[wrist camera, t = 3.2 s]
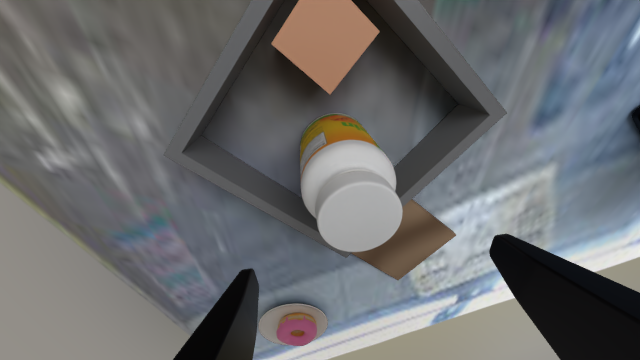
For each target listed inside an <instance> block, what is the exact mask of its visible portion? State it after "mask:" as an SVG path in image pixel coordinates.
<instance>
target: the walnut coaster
mask: <svg viewBox="0 0 640 360" xmlns="http://www.w3.org/2000/svg"><path fill="white" fill-rule="evenodd" d="M402 211H403V212H402V220H401V223H400V226H399V228H398V229H397V231H396V232H395V233H394V235H393V236H392V237H391V238H390V239H389V240H387V241H386V242H385V243H383V244H382V245H380V246H378V247H376V248H373V249H370V250H367V251H362V252H352V254H353V255H355V256H357V257H359V258H360V259H362V260H364V261H365V262H367V263H369V264H371V265H372V266H374V267H376V268H378V269H379V270H381V271H383V272H385V273H386V274H388V275H390V276H392V277H393V278H395V279H397V280H399V279H400V278H402V277H403V276H404V275H406V274H407V273H408V272H409V271H411V270H412V269H413V268H415V267H416V266H417V265H419V264H420V263H421V262H422V261H424V260H425V259H426V258H428V257H429V256H430V255H431V254H433V253H434V252H435V251H437V250H438V249H439V248H440V247H442V246H443V245H444V244H446V243H447V242H448V241H449V240H451V239H452V238H453V237H455V236H456V234H455V233H454V232H453V231H452V230H451V229H449V228H448V227H447V226H446V225H444V224H443V223H442V222H441V221H439V220H438V219H437V218H435V217H434V216H433V215H432V214H430V213H429V212H428V211H426V210H425V209H424V208H423V207H421V206H420V205H419V204H418V203H416V202H415V201H414V200H412V199H411V200H410V201H409V202H408V203H407V204H406V205H404V206H403V207H402Z"/></svg>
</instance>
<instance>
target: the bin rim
mask: <svg viewBox="0 0 640 360" xmlns="http://www.w3.org/2000/svg"><path fill="white" fill-rule="evenodd" d="M283 1H284V0H252V1H251V2H250V4H249V6H248V8H247V9H246V11H245V13H244V15H243V16H242V18H241V20H240V22H239V23H238V25H237V27H236V29H235V30H234V32H233V34H232V36H231V37H230V39H229V41H228V43H227V44H226V46H225V48H224V50H223V51H222V53H221V55H220V57H219V58H218V60H217V62H216V64H215V65H214V67H213V69H212V71H211V72H210V74H209V76H208V78H207V79H206V81H205V83H204V85H203V86H202V88H201V90H200V92H199V93H198V95H197V97H196V99H195V100H194V102H193V104H192V106H191V107H190V109H189V111H188V113H187V114H186V116H185V118H184V120H183V121H182V123H181V125H180V127H179V128H178V130H177V132H176V134H175V135H174V137H173V139H172V141H171V142H170V144H169V146H168V148H167V149H166V151H165V153H164V156H165V157H167V158H169V159H171V160H173V161H174V162H176V163H178V164H180V165H182V166H183V167H185V168H187V169H189V170H190V171H192V172H194V173H196V174H198V175H199V176H201V177H203V178H205V179H206V180H208V181H210V182H212V183H214V184H215V185H217V186H219V187H221V188H223V189H224V190H226V191H228V192H230V193H231V194H233V195H235V196H237V197H239V198H240V199H242V200H244V201H246V202H248V203H249V204H251V205H253V206H255V207H256V208H258V209H260V210H262V211H264V212H265V213H267V214H269V215H271V216H272V217H274V218H276V219H278V220H280V221H281V222H283V223H285V224H287V225H289V226H290V227H292V228H294V229H296V230H297V231H299V232H301V233H303V234H305V235H306V236H308V237H310V238H312V239H314V240H315V241H317V242H319V243H321V244H322V245H324V246H326V247H328V248H330V249H331V250H333V251H335V252H337V253H339V254H340V255H342V256H344V257H346V258H347V257H348V256H349V255H350V254H351V253H352V252H347V251H342V250H339V249H337V248H334V247H332V246H331V245H329V244H328V243H327V242H326V241H325V240H324V239H323V237H322V236H321V234H320V232H319V230H318V226H317V220H316V218H315V217H314V216H313V215H312V214H311V213H310V212H309V211H308V209H307V208H306V206H305V204H304V201H303V199H302V198H300V197H299V196H297V195H296V194H294V193H292V192H291V191H289V190H288V189H286V188H284V187H283V186H281V185H280V184H278V183H276V182H275V181H273V180H272V179H270V178H268V177H267V176H265V175H264V174H262V173H260V172H259V171H257V170H256V169H254V168H252V167H251V166H249V165H248V164H246V163H244V162H243V161H241V160H240V159H238V158H236V157H235V156H233V155H232V154H230V153H228V152H227V151H225V150H224V149H222V148H220V147H219V146H217V145H216V144H214V143H212V142H211V141H209V140H208V139H206V138H204V137H203V136H201V134H202V133H203V131H204V129H205V128H206V126H207V125H208V123H209V121H210V120H211V118H212V116H213V115H214V113H215V112H216V110H217V108H218V107H219V105H220V104H221V102H222V100H223V99H224V97H225V95H226V94H227V92H228V91H229V89H230V87H231V86H232V84H233V82H234V81H235V79H236V78H237V76H238V74H239V73H240V71H241V69H242V68H243V66H244V65H245V63H246V61H247V60H248V58H249V57H250V55H251V53H252V52H253V50H254V48H255V47H256V45H257V44H258V42H259V40H260V39H261V37H262V35H263V34H264V32H265V31H266V29H267V27H268V26H269V24H270V22H271V21H272V19H273V18H274V16H275V14H276V13H277V11H278V9H279V8H280V6H281V5H282V3H283ZM367 1H368V3H369V4H370V5H371V6H372V7H373V8H374V9H375V10H376V12H377V13H378V14H379V15H380V16H381V17H382V18H383V19H384V21H385V22H386V23H387V24H388V25H389V26H390V27H391V28H392V30H393V31H394V32H395V33H396V34H397V35H398V36H399V37H400V39H401V40H402V41H403V42H404V43H405V44H406V45H407V46H408V48H409V49H410V50H411V51H412V52H413V53H414V54H415V55H416V57H417V58H418V59H419V60H420V61H421V62H422V63H423V64H424V66H425V67H426V68H427V69H428V70H429V71H430V72H431V73H432V75H433V76H434V77H435V78H436V79H437V80H438V81H439V82H440V84H441V85H442V86H443V87H444V88H445V89H446V90H447V91H448V93H449V94H450V95H451V96H452V97H453V98H454V99H455V100H456V102H457V103H458V105H457V106H456V107H455V108H454V109H453V110H452V111H451V112H450V113H449V114H448V115H447V116H446V117H445V118H444V119H443V120H442V121H441V122H440V123H439V124H438V125H437V126H436V127H435V128H434V129H433V130H432V131H431V132H430V133H429V134H428V135H427V136H426V137H425V138H424V139H423V140H422V141H421V142H420V143H419V144H418V145H417V146H416V147H415V148H413V149H412V150H411V151H410V152H409V153H408V154H407V155H406V156H405V157H404V158H403V159H402V160H401V161H400V162H399V163H398V164H397V165H396V166H395V167H394V171H395V175H396V190H395V192H396V194H397V196H398V197H399V199H400V201H401V205H402V207H403V206H404V205H406V204H407V203H408V202H409V201H410V200H411V199H412V198H413V197H414V196H416V195H417V194H418V193H419V192H420V191H421V190H422V189H423V188H424V187H426V186H427V185H428V184H429V183H430V182H431V181H432V180H433V179H434V178H436V177H437V176H438V175H439V174H440V173H441V172H442V171H443V170H444V169H445V168H447V167H448V166H449V165H450V164H451V163H452V162H453V161H454V160H455V159H457V158H458V157H459V156H460V155H461V154H462V153H463V152H464V151H465V150H467V149H468V148H469V147H470V146H471V145H472V144H473V143H474V142H475V141H477V140H478V139H479V138H480V137H481V136H482V135H483V134H484V133H485V132H487V131H488V130H489V129H490V128H491V127H492V126H493V125H494V124H495V123H497V122H498V121H499V120H500V119H501V118H502V117H503V116H504V115H505V114H507V112H506V111H505V109H504V108H503V107H502V106H501V104H500V103H499V102H498V101H497V99H496V98H495V97H494V96H493V94H492V93H491V92H490V90H489V89H488V88H487V87H486V85H485V84H484V83H483V82H482V80H481V79H480V78H479V77H478V75H477V74H476V73H475V72H474V70H473V69H472V68H471V67H470V65H469V64H468V63H467V61H466V60H465V59H464V58H463V56H462V55H461V54H460V53H459V51H458V50H457V49H456V48H455V46H454V45H453V44H452V43H451V41H450V40H449V39H448V38H447V36H446V35H445V34H444V32H443V31H442V30H441V29H440V27H439V26H438V25H437V24H436V22H435V21H434V20H433V19H432V17H431V16H430V15H429V14H428V12H427V11H426V10H425V8H424V7H423V6H422V5H421V3H420V2H419V1H418V0H367Z"/></svg>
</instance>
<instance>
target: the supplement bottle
mask: <svg viewBox="0 0 640 360" xmlns="http://www.w3.org/2000/svg"><path fill="white" fill-rule="evenodd" d="M300 175H301V194H302V198H303V201H304V204H305V206H306V208H307V209H308V211H309V212H310V213H311V214H312V215H313V216H314V217H315V218H316V220H317V226H318V230H319V232H320V234H321V236H322V237H323V239H324V240H325V241H326V242H327V243H328V244H329V245H331V246H332V247H334V248H337V249H339V250H342V251H347V252H362V251H367V250H370V249H373V248H376V247H378V246H380V245H382V244H383V243H385V242H386V241H387V240H389V239H390V238H391V237H392V236H393V235H394V233H395V232H396V231H397V229H398V228H399V226H400V223H401V220H402V212H403V211H402V205H401V201H400V199H399V197H398V196H397V194H396V192H395V190H396V175H395V171H394V168H393V166H392V164H391V162H390V160H389V159H388V157H387V156H386V155H385V153H384V152H383V151H382V150H381V149H380V147H379V146H378V145H377V144H376V142H375V141H374V140H373V139H372V138H371V136H370V135H369V134H368V133H367V131H366V130H365V129H364V128H363V126H362V125H361V124H360V123H359V122H358V121H357V120H355V119H354V118H352V117H351V116H348V115H345V114H341V113H330V114H326V115H323V116H320V117H318V118H317V119H315V120H314V121H313V122H312V123H310V124H309V126H308V127H307V128H306V130H305V131H304V133H303V135H302V138H301V143H300Z"/></svg>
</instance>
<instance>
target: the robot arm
mask: <svg viewBox="0 0 640 360" xmlns="http://www.w3.org/2000/svg"><path fill="white" fill-rule="evenodd" d="M632 118H633V120H634V122H635V124H636V126H637V128H638V130H639V132H640V107H639V108H637V109H636V110H635V111H634V112H633V114H632ZM489 253H490V257H491V259H492V260H493V262H494V264H495V265H496V267H497V269H498V270H499V272H500V274H501V275H502V277H503V279H504V280H505V282H506V284H507V285H508V287H509V289H510V290H511V292H512V293H513V295H514V297H515V298H516V299H517V301H518V302H519V304H520V305H521V306H522V308H523V309H524V310H525V312H526V313H527V315H528V316H529V317H530V319H531V320H532V321H533V323H534V324H535V325H536V327H537V328H538V330H539V331H540V332H541V334H542V335H543V336H544V338H545V339H546V340H547V342H548V343H549V345H550V346H551V347H552V349H553V350H554V352H555V353H556V354H557V356H558V357H559V358H560V360H640V293H639V292H637V291H634V290H632V289H630V288H628V287H626V286H623V285H621V284H619V283H617V282H614V281H612V280H610V279H608V278H606V277H603V276H601V275H599V274H597V273H594V272H592V271H590V270H588V269H585V268H583V267H581V266H579V265H576V264H574V263H572V262H570V261H567V260H565V259H563V258H561V257H559V256H556V255H554V254H552V253H550V252H547V251H545V250H543V249H541V248H538V247H536V246H534V245H532V244H529V243H527V242H525V241H523V240H520V239H518V238H516V237H514V236H511V235H509V234H501V235H496V236H495V237H494V238H493V241H492V244H491V248H490V251H489ZM258 298H259V284H258V281H257V278H256V275H255V272H254V270H253V269H244V270H241V271H240V272H239V274H238V275H237V276H236V278H235V279H234V280H233V282H232V283H231V284H230V286H229V287H228V288H227V289H226V291H225V292H224V293H223V295H222V296H221V297H220V299H219V300H218V301H217V303H216V304H215V305H214V306H213V308H212V309H211V310H210V312H209V313H208V314H207V316H206V317H205V318H204V320H203V321H202V322H201V324H200V325H199V326H198V327H197V329H196V330H195V331H194V333H193V334H192V335H191V337H190V338H189V339H188V341H187V342H186V343H185V345H184V346H183V347H182V348H181V350H180V351H179V352H178V354H177V355H176V356H175V358H174V359H173V360H252V359H253V353H254V347H255V340H256V333H257V316H258Z"/></svg>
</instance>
